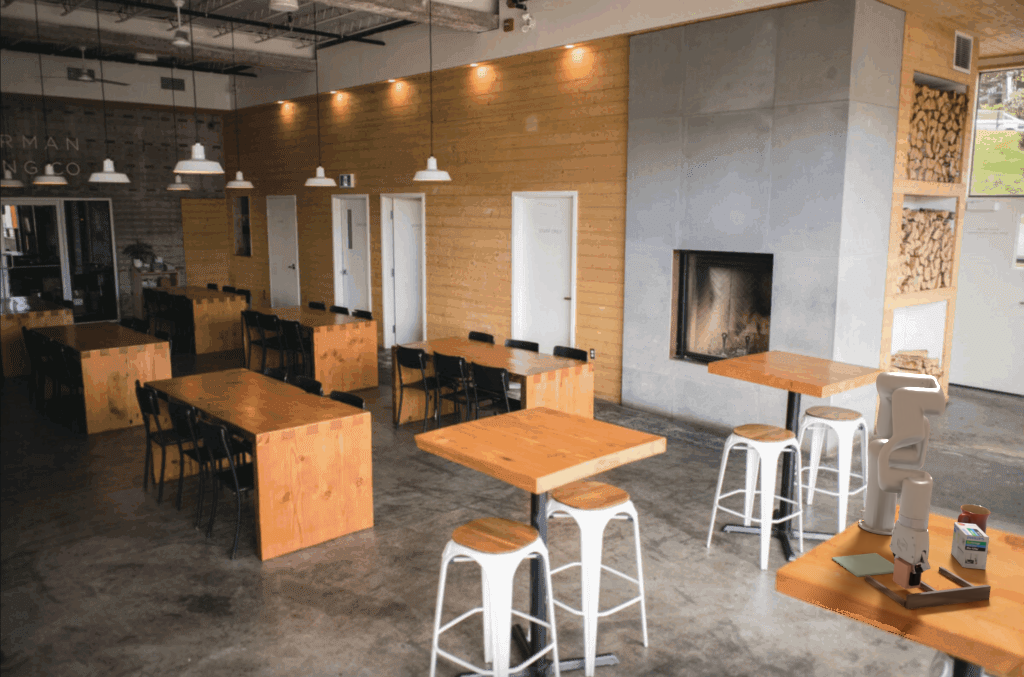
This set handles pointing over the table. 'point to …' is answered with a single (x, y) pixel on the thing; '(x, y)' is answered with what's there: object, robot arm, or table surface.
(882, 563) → the mat
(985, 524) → the mug
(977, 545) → the light bulb box
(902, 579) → the block
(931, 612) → the table surface
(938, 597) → the lane rack
